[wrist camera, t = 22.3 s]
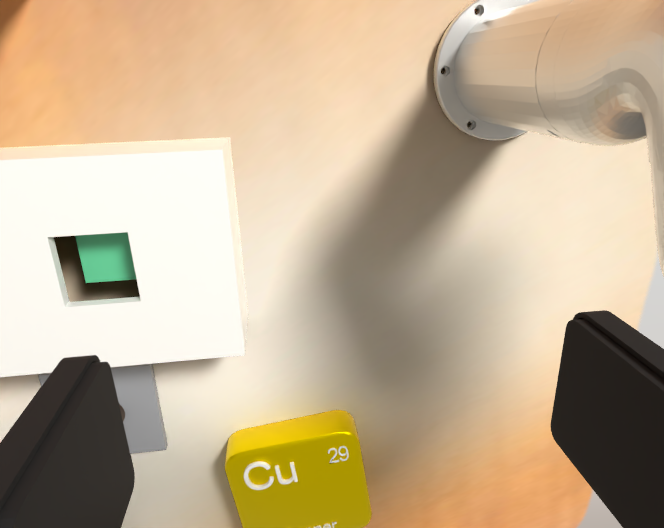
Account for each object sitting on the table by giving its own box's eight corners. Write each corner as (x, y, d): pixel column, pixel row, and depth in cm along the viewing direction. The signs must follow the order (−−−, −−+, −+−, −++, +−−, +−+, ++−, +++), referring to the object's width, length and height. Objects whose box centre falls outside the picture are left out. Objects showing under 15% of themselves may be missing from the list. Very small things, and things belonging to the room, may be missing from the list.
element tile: (251, 524, 62) (250, 559, 58) (223, 430, 57) (219, 460, 52) (367, 499, 63) (375, 531, 58) (351, 404, 57) (358, 431, 53)
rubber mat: (151, 361, 52) (149, 365, 51) (167, 444, 56) (166, 449, 55) (41, 370, 51) (38, 375, 50) (65, 455, 55) (62, 460, 54)
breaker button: (140, 218, 45) (128, 231, 42) (148, 263, 47) (138, 279, 43) (90, 221, 45) (74, 234, 41) (100, 266, 46) (85, 282, 43)
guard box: (230, 137, 45) (222, 149, 37) (248, 314, 51) (245, 355, 44) (-29, 149, 42) (-92, 164, 35) (25, 332, 49) (-19, 378, 42)
